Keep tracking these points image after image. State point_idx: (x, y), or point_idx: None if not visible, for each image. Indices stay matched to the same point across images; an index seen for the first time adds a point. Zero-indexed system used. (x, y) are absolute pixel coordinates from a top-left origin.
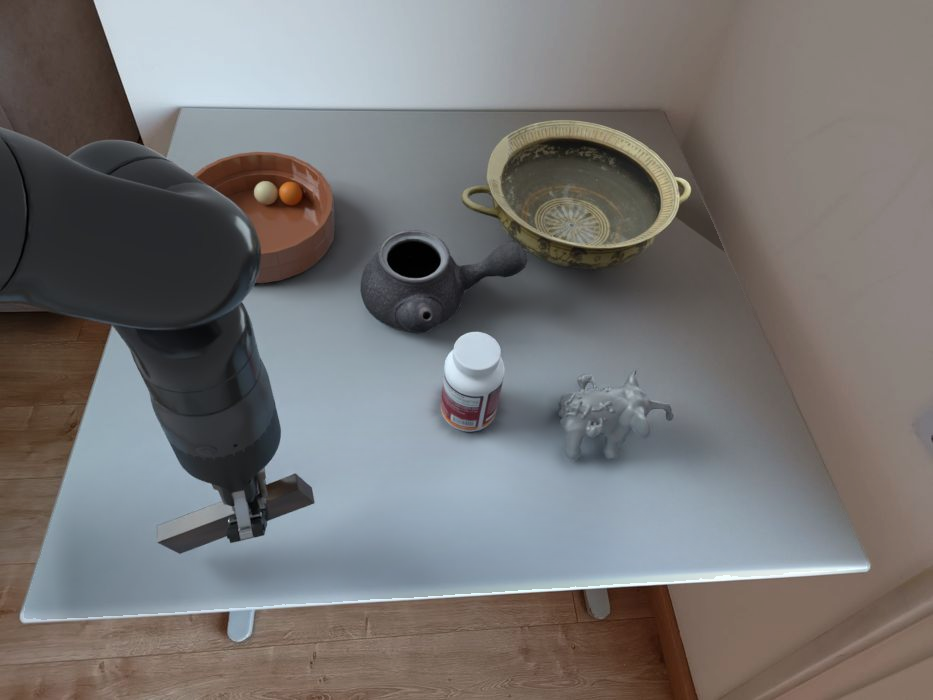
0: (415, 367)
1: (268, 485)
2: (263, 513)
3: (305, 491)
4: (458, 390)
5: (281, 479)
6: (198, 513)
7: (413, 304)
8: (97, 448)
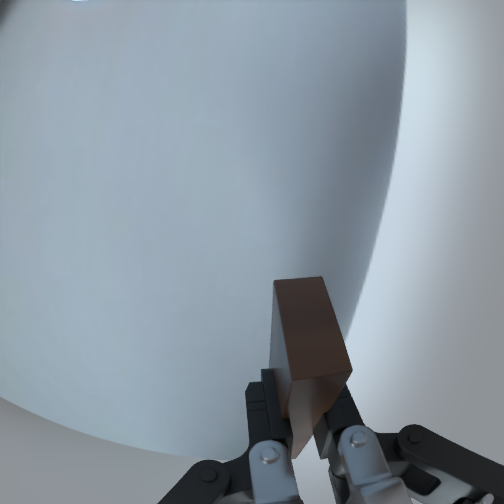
0: (13, 52)
1: (289, 413)
2: (446, 472)
3: (323, 324)
4: None
5: (290, 400)
6: None
7: None
8: (132, 439)
